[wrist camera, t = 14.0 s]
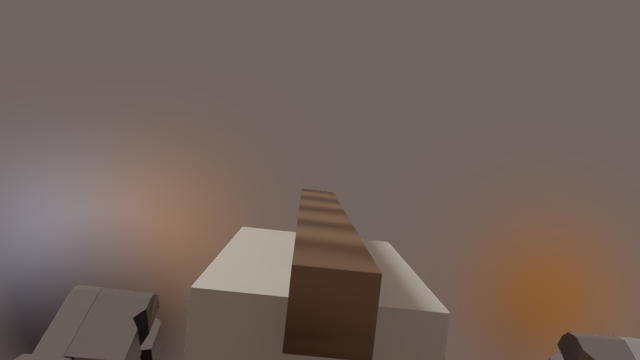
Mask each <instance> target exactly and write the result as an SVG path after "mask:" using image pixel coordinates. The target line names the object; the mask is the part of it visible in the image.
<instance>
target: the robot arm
mask: <svg viewBox="0 0 640 360" xmlns="http://www.w3.org/2000/svg"><path fill="white" fill-rule="evenodd" d="M158 309H159V300H158V295H156V294H154V293H146V292H137V291H129V290H121V289H112V288H100V287H92V286H83V285H78V286H77V287H75V288H74V289H73V290H72V291H71V292H70V294H69V295H68V297H67V298H66V300H65V302H64V303H63V305H62V306H61V308H60V310H59V311H58V313H57V315H56V316H55V318H54V319H53V321H52V323H51V324H50V326H49V328H48V329H47V331H46V333H45V334H44V335H43V337H42V339H41V340H40V342H39V344H38V345H37V347H36V348H35V350H34V352H33V353H32V354H23V355H21V356H20V357H18V358H16V359H15V360H157V359H158V355H159V350H160V346H161V337H162V327H161V322H160V321H159V320H158V319H157V318H156V315H157V312H158ZM558 347H559V349H560V351H561V352H560V353H558V354H557V355H555V356H553V357H551V358H550V359H549V360H640V339H638V338H627V337H615V336H607V335H594V334H582V333H570V332H568V333H566V334H565V335H563V336H562V337H561V339H560V341H559V342H558Z"/></svg>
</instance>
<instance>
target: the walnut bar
mask: <svg viewBox="0 0 640 360" xmlns="http://www.w3.org/2000/svg"><path fill="white" fill-rule="evenodd" d="M381 280H382V273H381V271H380V269H379V268H378V266H377V264H376V263H375V261H374V259H373V258H372V256H371V254H370V253H369V251H368V249H367V248H366V246H365V245H364V243H363V241H362V240H361V238H360V237H359V235H358V233H357V232H356V230H355V228H354V227H353V225H352V223H351V222H350V220H349V218H348V217H347V215H346V213H345V212H344V210H343V209H342V207H341V205H340V203H339V202H338V200H337V199H336V197H335V195H334V194H333V192H326V191H317V190H307V189H302V192H301V200H300V207H299V215H298V222H297V229H296V237H295V244H294V252H293V259H292V267H291V277H290V286H289V295H288V305H287V314H286V323H285V333H284V342H283V351H282V354H293V355H303V356H313V357H324V358H334V359H345V360H372V357H373V348H374V340H375V331H376V323H377V314H378V306H379V297H380V289H381Z"/></svg>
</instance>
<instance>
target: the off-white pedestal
mask: <svg viewBox="0 0 640 360" xmlns="http://www.w3.org/2000/svg"><path fill="white" fill-rule="evenodd" d="M295 237H296V232H288V231H278V230H269V229H259V228H249V227H242V228H241V229H240V230H239V231H238V233H237V234H236V235H235V236H234V237H233V239H232V240H231V241H230V242H229V243H228V244H227V246H226V247H225V248H224V249H223V250H222V251H221V253H220V254H219V255H218V256H217V258H216V259H215V260H214V261H213V262H212V263H211V264H210V265H209V267H208V268H207V269H206V270H205V271H204V272H203V274H202V275H201V276H200V277H199V278H198V279H197V281H196V282H195V283H194V284H193V285H192V286H191V290H190V300H189V311H188V321H187V332H186V343H185V352H184V360H345V359H334V358H324V357H313V356H303V355H293V354H282V351H283V342H284V333H285V323H286V314H287V305H288V295H289V286H290V277H291V267H292V259H293V252H294V244H295ZM361 240H362V241H363V243H364V245H365V246H366V248H367V249H368V251H369V253H370V254H371V256H372V258H373V259H374V261H375V263H376V264H377V266H378V268H379V269H380V271H381V273H382V280H381V289H380V297H379V306H378V314H377V323H376V331H375V340H374V348H373V357H372V360H445V352H446V344H447V336H448V328H449V320H450V312H448V310H447V309H446V308H445V307H444V306H443V304H442V303H441V302H440V301H439V300H438V299H437V298H436V296H435V295H434V294H433V293H432V292H431V291H430V290H429V289H428V287H427V286H426V285H425V284H424V283H423V282H422V280H421V279H420V278H419V277H418V276H417V275H416V273H415V272H414V271H413V270H412V269H411V268H410V267H409V266H408V264H407V263H406V262H405V261H404V260H403V259H402V257H401V256H400V255H399V254H398V253H397V252H396V251H395V249H394V248H393V247H392V246H391V245H390V244H389V243H388V242H383V241H374V240H364V239H361Z"/></svg>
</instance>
